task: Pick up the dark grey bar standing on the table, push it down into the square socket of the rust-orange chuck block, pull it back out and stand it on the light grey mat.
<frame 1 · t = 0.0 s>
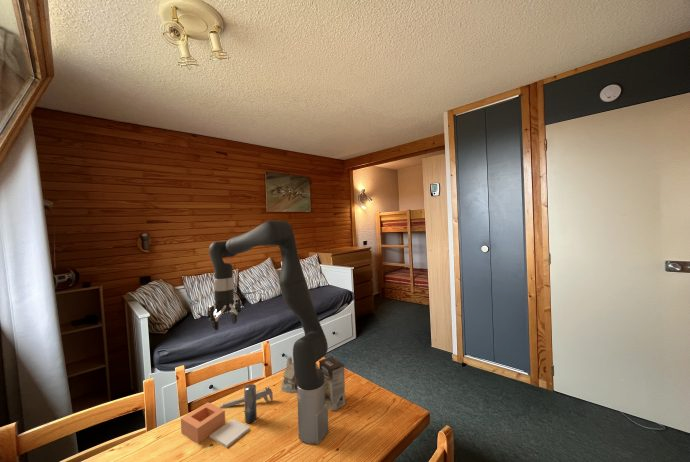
hand: (225, 326, 114), 29 cm above the table, tool pointing down, fingers open, 8 cm apart
caliper: (246, 405, 108), on the table
ceramic cottage: (302, 385, 120), on the table
chuck block: (203, 428, 95), on the table
coffee box: (332, 403, 107), on the table
dark grey bar: (251, 420, 99), on the table
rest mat: (230, 433, 92), on the table
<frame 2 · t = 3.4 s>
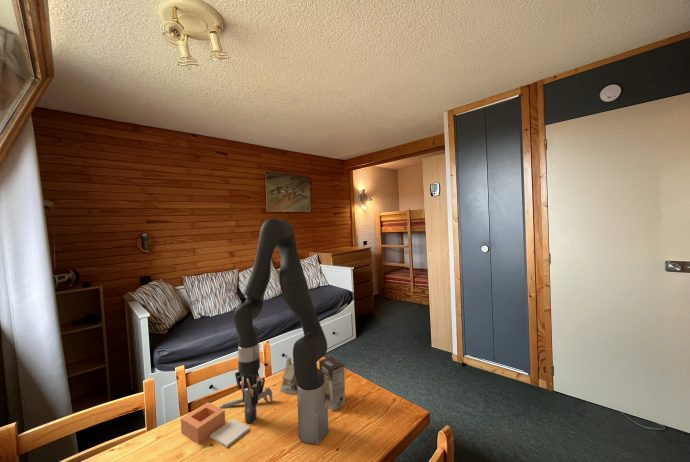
hand: (250, 402, 99), 6 cm above the table, tool pointing down, fingers closed on dark grey bar, 4 cm apart
dark grey bar: (251, 420, 99), on the table, touching gripper
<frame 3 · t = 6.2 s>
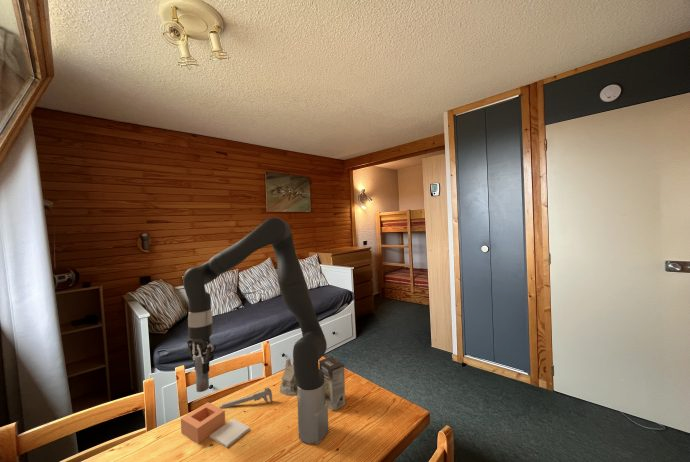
hand: (202, 371, 95), 20 cm above the table, tool pointing down, fingers closed on dark grey bar, 4 cm apart
dark grey bar: (202, 388, 95), point 14 cm above the table, touching gripper
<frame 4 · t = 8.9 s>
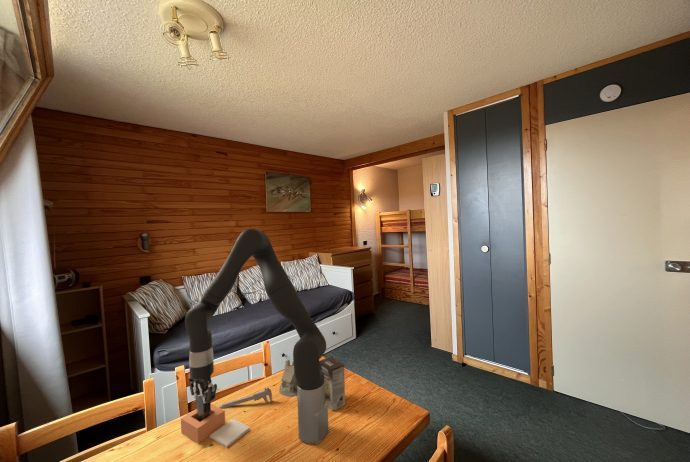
hand: (203, 409, 95), 7 cm above the table, tool pointing down, fingers closed on dark grey bar, 4 cm apart
dark grey bar: (204, 427, 95), resting in chuck block, touching gripper
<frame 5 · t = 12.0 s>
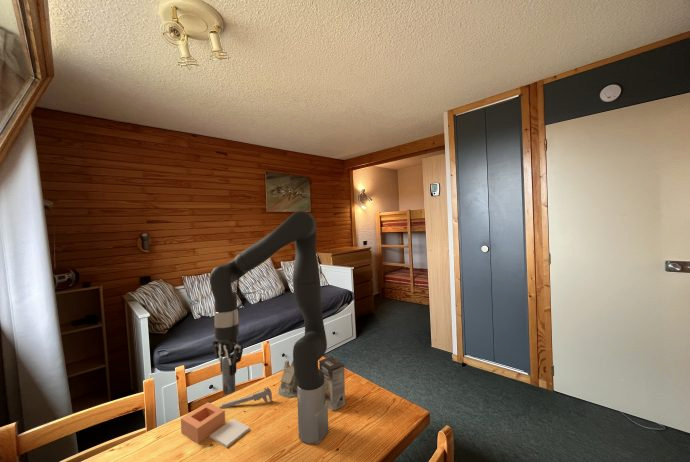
hand: (228, 372, 92), 21 cm above the table, tool pointing down, fingers closed on dark grey bar, 4 cm apart
dark grey bar: (229, 390, 92), point 15 cm above the table, touching gripper
when the fingers open (8 cm above the table, at t = 14.6 s): dark grey bar drops 1 cm, resting on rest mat.
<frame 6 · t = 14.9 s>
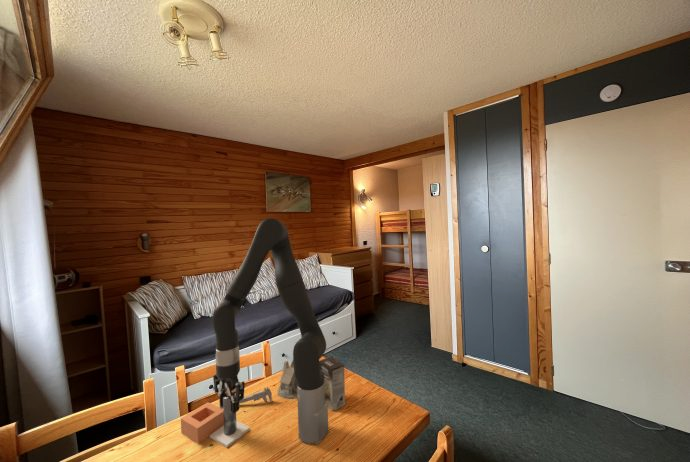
hand: (229, 408, 92), 9 cm above the table, tool pointing down, fingers open, 6 cm apart
dark grey bar: (230, 431, 92), point 1 cm above the table, touching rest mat
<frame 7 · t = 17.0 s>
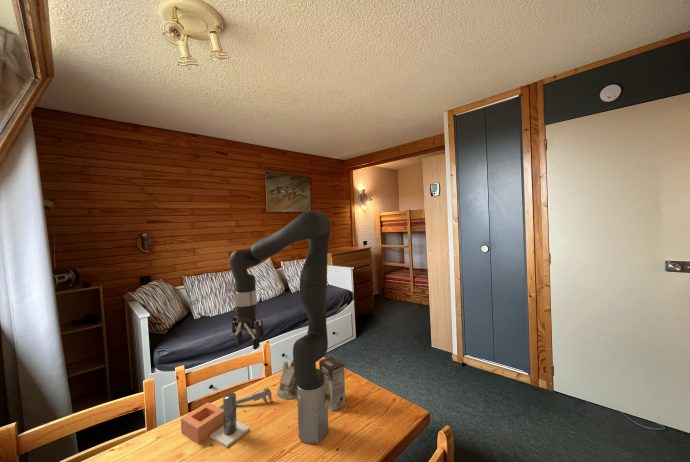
hand: (247, 346, 100), 26 cm above the table, tool pointing down, fingers open, 8 cm apart
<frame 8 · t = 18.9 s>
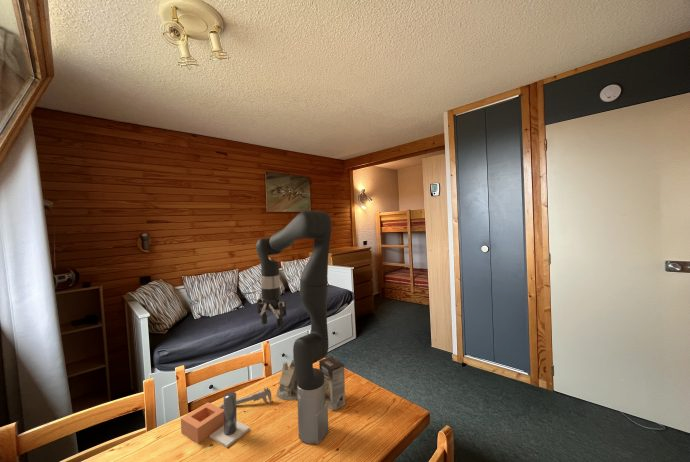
hand: (271, 325, 111), 30 cm above the table, tool pointing down, fingers open, 8 cm apart
at the end: dark grey bar 0.1 cm off-centre on the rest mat, point 0.9 cm above the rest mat's base; dark grey bar tilted 2°; the gripper is holding nothing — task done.
